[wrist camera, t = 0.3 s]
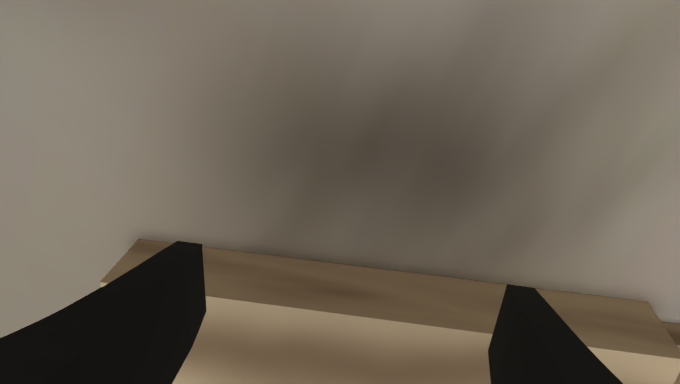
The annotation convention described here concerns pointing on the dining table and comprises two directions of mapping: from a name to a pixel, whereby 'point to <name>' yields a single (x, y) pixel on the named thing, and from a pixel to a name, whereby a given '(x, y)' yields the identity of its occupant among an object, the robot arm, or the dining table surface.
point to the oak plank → (384, 325)
